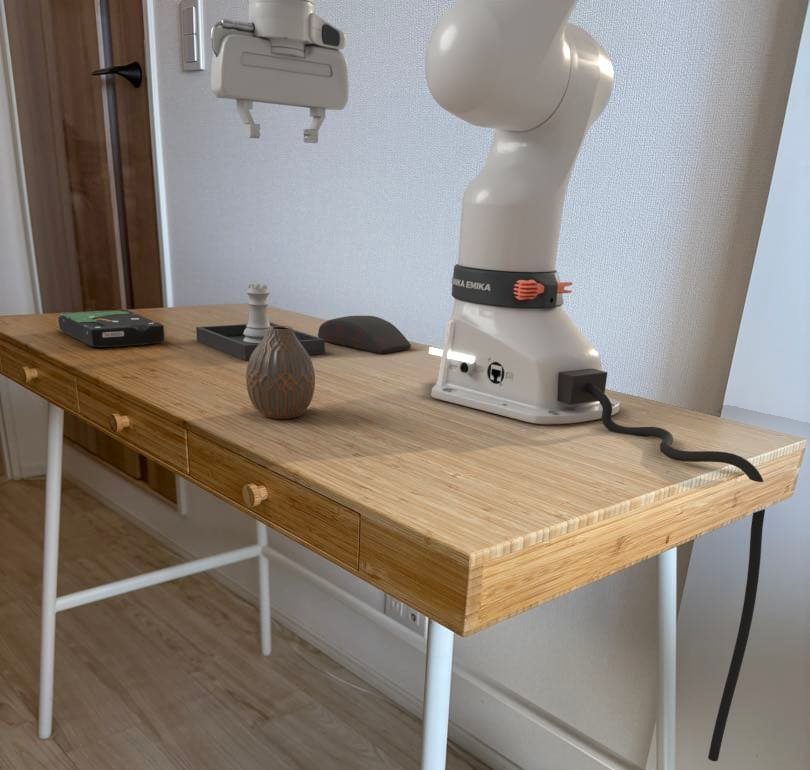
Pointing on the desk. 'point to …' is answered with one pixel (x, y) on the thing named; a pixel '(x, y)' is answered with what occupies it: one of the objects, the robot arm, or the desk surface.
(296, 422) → the desk surface
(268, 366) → the vase
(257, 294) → the rook chess piece
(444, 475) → the desk surface
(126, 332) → the disk drive
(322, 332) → the computer mouse
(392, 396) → the desk surface
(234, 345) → the tray
